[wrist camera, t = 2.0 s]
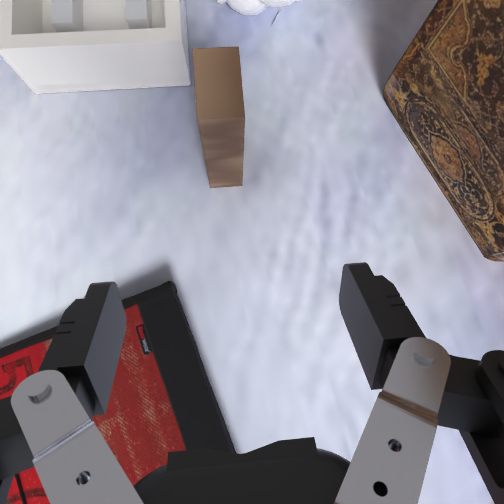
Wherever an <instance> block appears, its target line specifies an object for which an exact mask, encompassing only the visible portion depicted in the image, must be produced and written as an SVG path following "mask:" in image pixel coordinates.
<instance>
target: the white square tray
mask: <svg viewBox="0 0 504 504" xmlns="http://www.w3.org/2000/svg"><path fill="white" fill-rule="evenodd" d="M0 55H1V56H2V57H3V58H4V59H5V61H6V62H7V63H8V64H9V65H10V66H11V67H12V68H13V70H14V71H15V72H16V73H17V74H18V75H19V76H20V77H21V79H22V80H23V81H24V82H25V83H26V84H27V85H28V86H29V88H30V89H31V90H32V91H33V92H34V93H35V94H41V93H60V92H78V91H97V90H115V89H134V88H153V87H171V86H190V85H191V83H190V67H189V52H188V36H187V20H186V5H185V0H0Z"/></svg>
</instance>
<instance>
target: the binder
mask: <svg viewBox="0 0 504 504" xmlns="http://www.w3.org/2000/svg"><path fill="white" fill-rule="evenodd" d="M121 301H122V304H123V308H124V311H125V315H126V332H125V336H124V340H123V344H122V348H121V352H120V356H119V361H118V365H117V369H116V373H115V377H114V381H113V385H112V389H111V393H110V397H109V401H108V406H107V410H106V414H104V415H93V417H92V421H93V422H94V423H95V425H96V427H97V428H98V430H99V431H100V433H101V435H102V436H103V438H104V440H105V441H106V443H107V444H108V446H109V448H110V449H111V451H112V453H113V454H114V456H115V458H116V459H117V461H118V462H119V464H120V466H121V467H122V469H123V471H124V472H125V474H126V476H127V477H128V479H129V480H130V482H131V484H132V485H133V486H134V485H135V484H136V483H137V482H138V481H139V480H141V479H142V478H143V477H144V476H146V475H147V474H149V473H150V472H152V471H153V470H155V469H157V468H159V467H161V466H163V465H166V464H167V459H168V452H173V451H183V450H193V449H203V448H206V449H212V450H218V451H224V452H230V453H236V452H235V449H234V446H233V444H232V441H231V438H230V435H229V433H228V430H227V427H226V425H225V422H224V419H223V417H222V414H221V411H220V409H219V406H218V404H217V401H216V398H215V396H214V393H213V390H212V388H211V385H210V383H209V381H208V378H207V376H206V373H205V370H204V367H203V364H202V361H201V358H200V355H199V352H198V349H197V346H196V344H195V341H194V338H193V335H192V333H191V330H190V328H189V325H188V322H187V319H186V317H185V314H184V312H183V309H182V306H181V304H180V301H179V299H178V296H177V290H176V286H175V284H174V283H173V282H171V281H167V282H165V283H164V284H162V285H160V286H158V287H155V288H153V289H150V290H147V291H145V292H142V293H140V294H137V295H135V296H132V297H129V298H126V299H124V300H121ZM57 328H58V326H57V327H54V328H51V329H49V330H46V331H44V332H41V333H39V334H36V335H34V336H31V337H29V338H26V339H24V340H22V341H19V342H17V343H14V344H11V345H9V346H6V347H4V348H1V349H0V400H1V399H3V398H6V397H9V396H11V395H12V394H13V392H14V390H15V389H16V388H17V386H18V385H19V384H20V383H21V382H22V381H23V380H25V379H26V378H27V377H29V376H31V375H33V374H35V373H37V372H38V370H39V368H40V366H41V364H42V361H43V359H44V357H45V355H46V352H47V350H48V348H49V346H50V343H51V341H52V339H53V337H54V335H55V332H56V330H57ZM5 504H50V502H49V500H48V497H47V495H46V492H45V490H44V488H43V485H42V483H41V481H40V478H39V476H38V474H37V471H36V469H35V467H32V468H30V469H27V470H25V471H22V472H20V473H17V474H15V475H14V478H13V481H12V484H11V487H10V490H9V493H8V496H7V499H6V502H5Z"/></svg>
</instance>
